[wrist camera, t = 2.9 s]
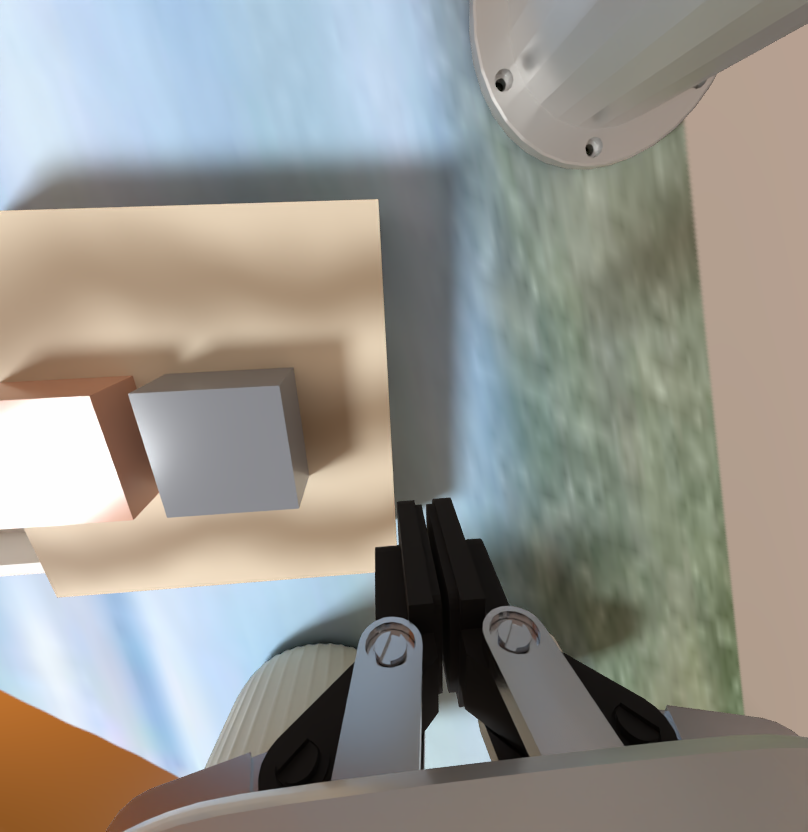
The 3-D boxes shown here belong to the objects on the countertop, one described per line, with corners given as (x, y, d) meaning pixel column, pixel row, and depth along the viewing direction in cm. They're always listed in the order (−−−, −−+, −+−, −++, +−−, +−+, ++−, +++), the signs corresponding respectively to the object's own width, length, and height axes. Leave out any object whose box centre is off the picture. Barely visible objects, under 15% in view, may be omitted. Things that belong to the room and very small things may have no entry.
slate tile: (165, 373, 18) (128, 393, 16) (293, 367, 19) (279, 385, 16) (195, 483, 21) (167, 517, 18) (309, 475, 21) (299, 508, 18)
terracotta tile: (-1, 382, 18) (-71, 404, 15) (132, 375, 18) (89, 395, 15) (47, 492, 20) (-5, 529, 17) (166, 485, 20) (133, 520, 18)
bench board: (-12, 225, 20) (-130, 214, 15) (377, 213, 21) (378, 199, 16) (111, 540, 27) (57, 597, 23) (394, 520, 28) (398, 570, 24)
